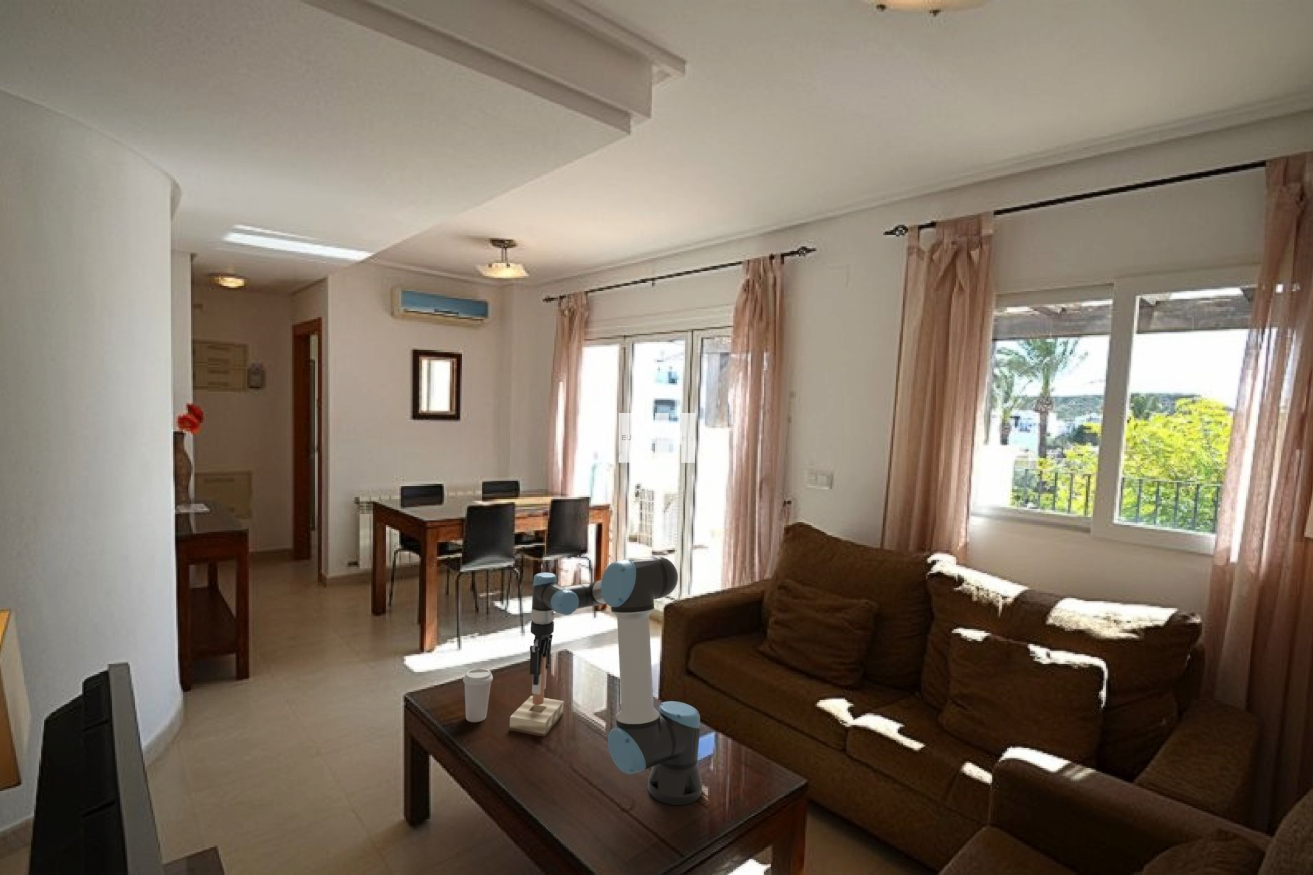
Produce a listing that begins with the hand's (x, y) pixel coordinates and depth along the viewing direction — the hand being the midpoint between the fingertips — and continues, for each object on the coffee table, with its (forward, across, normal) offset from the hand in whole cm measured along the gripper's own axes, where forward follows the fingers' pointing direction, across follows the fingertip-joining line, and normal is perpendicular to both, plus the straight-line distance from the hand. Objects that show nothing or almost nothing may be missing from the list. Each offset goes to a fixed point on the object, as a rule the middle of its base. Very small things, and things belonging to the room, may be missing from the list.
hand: (538, 690), depth 207 cm
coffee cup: (+11, -4, +20) cm, 23 cm away
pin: (+4, 0, 0) cm, 4 cm away
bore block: (+10, 0, 0) cm, 10 cm away
